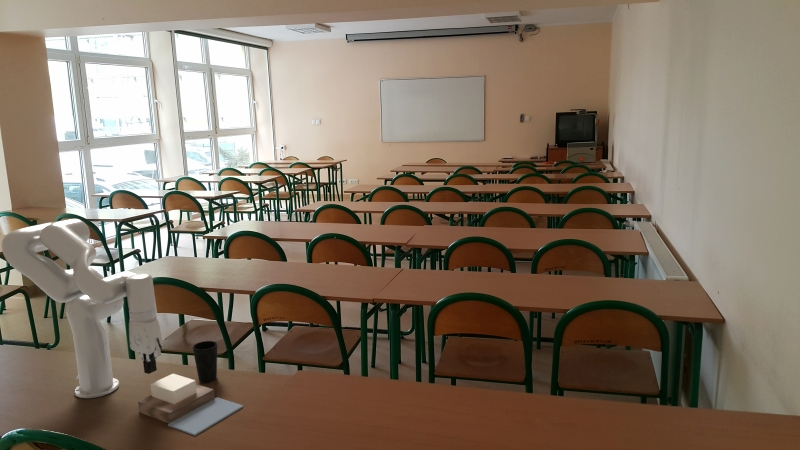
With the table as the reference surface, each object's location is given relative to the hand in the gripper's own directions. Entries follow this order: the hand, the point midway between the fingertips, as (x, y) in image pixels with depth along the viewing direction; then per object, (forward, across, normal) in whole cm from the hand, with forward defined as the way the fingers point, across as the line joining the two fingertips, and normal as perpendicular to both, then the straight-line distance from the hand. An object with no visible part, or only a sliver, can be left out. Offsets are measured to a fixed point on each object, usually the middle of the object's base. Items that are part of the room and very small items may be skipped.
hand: (150, 371), depth 178 cm
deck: (+9, +11, 0) cm, 14 cm away
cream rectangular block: (+5, +10, 0) cm, 11 cm away
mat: (+9, +24, 0) cm, 25 cm away
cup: (+9, +5, +17) cm, 20 cm away
